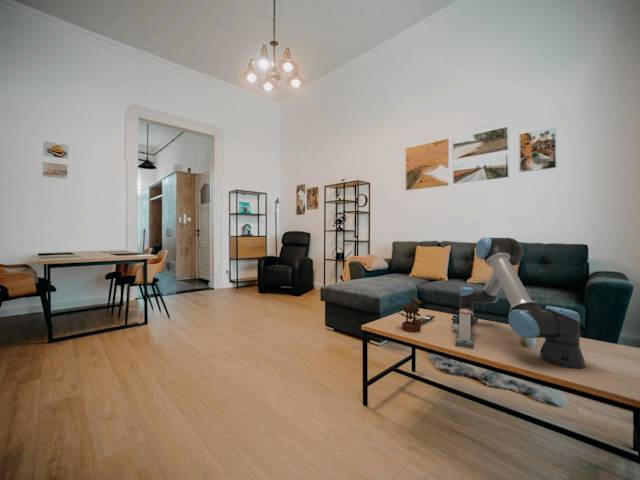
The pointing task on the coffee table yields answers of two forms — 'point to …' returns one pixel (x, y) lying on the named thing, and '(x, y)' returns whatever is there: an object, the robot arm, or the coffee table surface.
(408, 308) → the music box
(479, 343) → the coffee table surface
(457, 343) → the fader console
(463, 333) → the grey tall cylinder
